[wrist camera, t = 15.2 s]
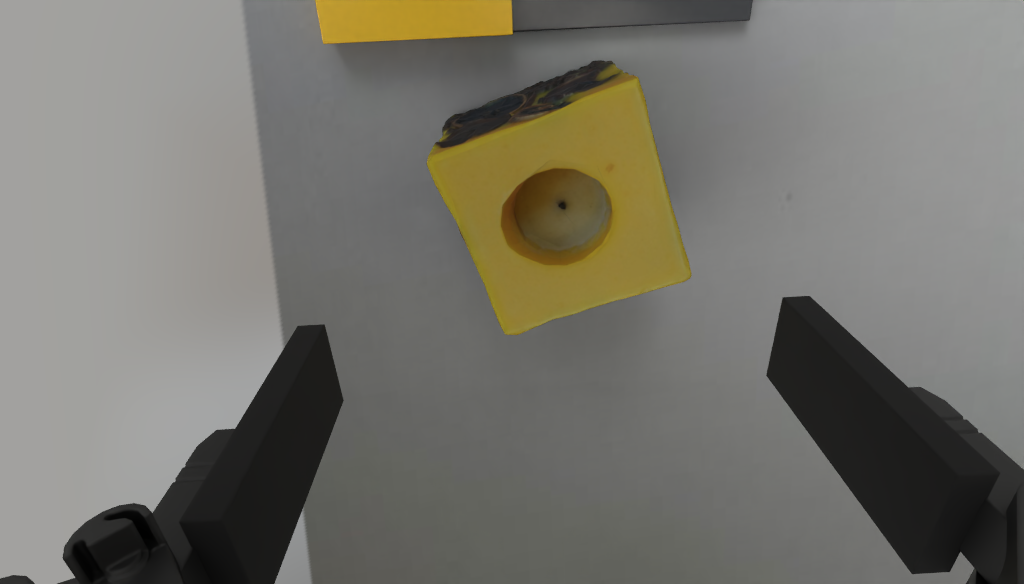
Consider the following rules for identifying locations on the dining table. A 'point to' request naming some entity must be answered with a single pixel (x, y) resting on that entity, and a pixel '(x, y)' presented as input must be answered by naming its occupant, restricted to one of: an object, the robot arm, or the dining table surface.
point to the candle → (561, 196)
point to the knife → (506, 16)
